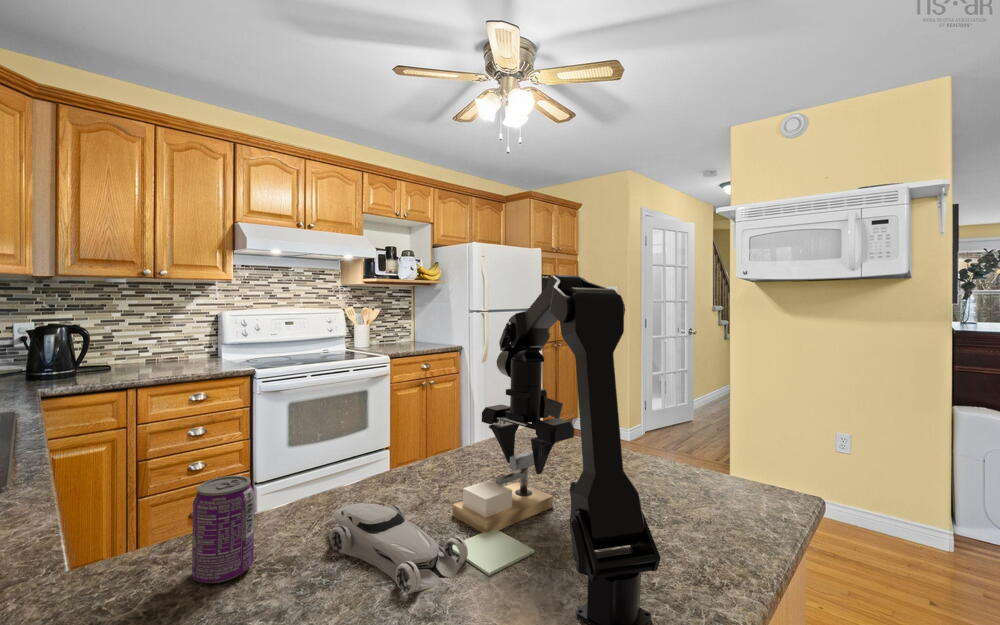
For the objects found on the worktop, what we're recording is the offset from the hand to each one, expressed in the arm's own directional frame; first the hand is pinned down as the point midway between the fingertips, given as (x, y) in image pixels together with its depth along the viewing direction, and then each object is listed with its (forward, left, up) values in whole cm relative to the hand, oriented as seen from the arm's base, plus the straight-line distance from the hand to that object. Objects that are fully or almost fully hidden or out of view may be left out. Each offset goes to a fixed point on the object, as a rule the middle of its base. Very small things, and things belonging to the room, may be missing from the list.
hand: (524, 468), depth 85 cm
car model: (-27, +2, -7) cm, 28 cm away
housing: (-5, 0, -7) cm, 8 cm away
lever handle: (-2, 0, -4) cm, 5 cm away
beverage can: (-46, +11, -7) cm, 48 cm away
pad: (-15, -8, -7) cm, 19 cm away
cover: (-9, 0, -5) cm, 10 cm away
